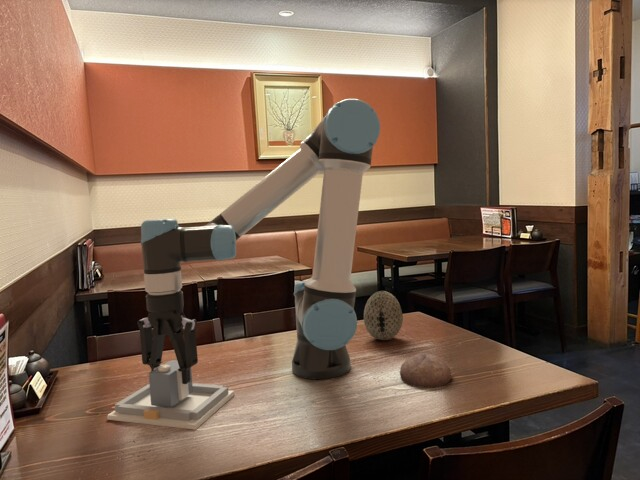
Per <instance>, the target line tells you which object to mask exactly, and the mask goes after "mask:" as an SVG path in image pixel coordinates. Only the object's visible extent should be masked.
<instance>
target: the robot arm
mask: <svg viewBox="0 0 640 480" xmlns="http://www.w3.org/2000/svg"><path fill="white" fill-rule="evenodd" d="M380 121H381V120H380V118H379V116H378V114H377V111H375V109H374V108H373V106H371V105H370V104H369V103H367V102H366V101H363V100H361V99H359V98H358V99H357V98H346V99H342V100H340V101H338V102H336V103H334V104H333V105H331V107H330V108H329V109H328V110H327V112H326V113H325V116H323V118H322V119H321V120H320V122H319V124H317V126H316V127H315V128H314V130H313V131H312V132H311V133H310V134H309V135H308V136H307V137H306V138H304V139H303V140H302V141H301V142H300V145H299V149H298V150H296V151H295V152H294V153H293V154H291V156H289V157H288V158H287V159H285V160H284V161H283V162H282V163H281V164H279V165H278V166H277V167H275V168H274V169H273V170H272V171H271V172H269V173H268V174H267V175H266V176H265V177H263V178H262V179H261V180H259V181H258V182H257V183H256V184H255V185H253V186H252V187H251V188H250V189H248V190H247V191H246V192H245V193H244V194H242V196H240V197H239V198H237V199H236V200H235V201H234V202H233V203H232V204H230V205H229V206H228V207H226V209H224V210H223V211H221V212H220V214H218V215H217V216H216V217H214V218H213V219H212V220H210V221H209V222H208V223H207V224H205V225H202V226H201V225H200V226H199V225H198V226H189V227H186V226H185V227H183V226H180V225H179V223H178V219H176V218H162V219H161V218H159V219H157V218H156V219H146V220H143V222H142V223H141V224H140V235H141V236H140V237H141V240H140V245H141V252H142V262H143V272H144V273H143V277H144V279H143V280H144V291H145V292H146V295H145V303H146V310H147V312H148V315H147V317H143V318H142V319H139V320H137V321H136V324H137V327H138V330H139V335H140V346H141V348H140V351H141V362H142V364H143V365H148V366H149V367H150V369H151V370H150V372H151V371H153V370H155V369H157V368H158V367H159V366H162V365H164V360H162V358H163V352H164V345H165V339H166V336H167V337H168V339H169V340H170V341H171V344H172V348H173V351H174V354H175V358H176V360H177V361H178V364H179V369H178V370H177V383H178V396H179V400H183V399H184V398H186V397H187V396H188V395H189V389H188V383H189V382H190V380H191V377H190V368H191V369H192V367H194V366H195V365H197V364H198V363H199V359H198V349H197V348H198V347H197V336H196V329H197V324H198V320H196V318H193V319H189V318H187V317H186V316H185V313H184V305H185V304H184V303H185V301H184V292H183V291H182V290H181V289H183V280H182V279H183V278H182V267H181V263H190V262H208V261H209V262H210V261H218V262H222V261H225V260H233V259H234V258H236V256H237V241H238V240H239V239H240V238H242V236H244V235H245V234H247V232H248V231H250V230H251V229H252V228H254V227H255V226H256V225H257V224H258V223H260V222H261V221H262V220H263V219H264V218H266V217H267V216H268V215H270V213H272V212H273V211H274V210H276V209H277V208H278V207H280V205H282V204H283V203H284V202H286V200H288V199H289V198H290V197H292V196H293V195H294V194H295V193H296V192H298V191H299V190H300V189H301V188H303V187H304V186H305V185H306V184H308V183H309V182H310V181H311V180H312V179H314V178H315V177H316V176H317V175H319V174H323V176H322V177H323V179H322V187H321V197H320V206H319V213H318V214H319V215H318V223H317V233H316V240H315V241H316V242H315V250H314V257H313V258H314V260H313V268H312V275H311V276H310V278H309V279H308V280H306V281H305V280H304V281H298V282H296V283H295V284H294V292H293V296H294V305H295V306H294V307H295V322H296V323H295V325H296V344H295V348H294V352H293V356H292V359H291V370H292V373H293V375H295V376H297V377H299V378H304V379H309V380H326V379H333V378H337V377H340V376H343V375H345V374H347V373H348V372H349V371H350V370H351V368H352V364H351V357H350V354H349V352H348V349H347V347H346V345H347V344H348V343H350V341H352V339H354V336H355V334H356V331H357V329H358V318H357V313H356V311H355V303H356V293H357V288H356V287H355V286H354V284H353V283H352V281H351V279H352V278H351V276H352V268H353V261H354V252H355V243H356V236H357V235H356V234H357V226H358V219H359V209H360V200H361V193H362V186H363V185H362V184H363V175H364V173H365V172H367V171H368V170H369V169H370V168H371V165H372V160H373V159H372V157H373V151H374V146H375V145H376V143H377V142H378V140H379V138H380V134H381V122H380ZM182 326H183V327H182Z"/></svg>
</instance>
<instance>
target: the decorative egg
mask: <svg viewBox="0 0 640 480" xmlns="http://www.w3.org/2000/svg"><path fill="white" fill-rule="evenodd" d="M403 320H404V318H403V312H402V307H401V305H400V302H399V301H398V299H397V298H396V296H395V295H393V294H392V293H390V292H388V291H385V290H380V291H376V292H374V293H372V294H371V295H370V297H369V298H368V299H367V301H366V303H365V305H364V309H363V323H364V326H365V327H364V328H365V330H366V331H367V332H368V334H369V335H370V336H371V337H373V338H374V339H376V340H379V341H388V340H391V339H393V338H395V337H396V336H397V335H398V334H399V332H400V331H401V328H402V326H403Z"/></svg>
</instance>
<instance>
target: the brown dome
mask: <svg viewBox="0 0 640 480" xmlns="http://www.w3.org/2000/svg"><path fill="white" fill-rule="evenodd" d="M399 376H400V379H401V380H402V381H403V382H404V383H406V384H408V385H409V386H413V387H417V388H436V387H442V386H445V385H447V384H448V383H449V382H450V381H451V379H452V372H451V369H450V366H449V365H448V364H447V363H446V362H445V361H444V360H443V359H441V358H440V357H438V356H436V355H434V354H426V353H425V354H424V353H417V354H414V355H413V356H410V357H408V358H407V359H405V361H403V363H402V364H401V367H400V371H399Z"/></svg>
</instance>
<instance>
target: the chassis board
mask: <svg viewBox="0 0 640 480" xmlns="http://www.w3.org/2000/svg"><path fill="white" fill-rule="evenodd" d="M192 386H193V392H192V393H190V394H189V395H188V396H187V397H186V398H184V399H183V400H181V401H179V402H178V403H177V404H175V405H174V406H173V407H163V406H153V405H151V397H150V384H149V383H147V384H146V385H144V386H143V387H141V388H140V389H138V390H136V391H135V392H133V393H132V394H129V395H128V396H126V397H125V398H123V399H121V400H120V401H118V402H117V403H115V404H114V410H113V411H111V412H110V413H108V414H107V417H106V418H107V420H108V421H109V420H110V421H116V422H117V421H118V422H124V423H125V422H126V423H133V424H134V423H135V424H142V425H150V426H151V425H152V426H158V427H159V426H161V427H168V428H169V427H170V428H178V429H187V430H193V431H195V430H197V429H198V428H200V426H201V425H202V424H204V423H205V422H206V421H207V420H208V419H209V418H210V417H212V415H214V413H217V411H218V410H219V409H220V408H222V407H223V406H224V405H225V404H226V403H227V402H228V401H230V400H231V399H232V398H233V397H234V396H235V390H229V387H226V386H225V385H224V384H223V385H222V384H221V385H219V384H209V383H197V382H196V383H195V382H192Z"/></svg>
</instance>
